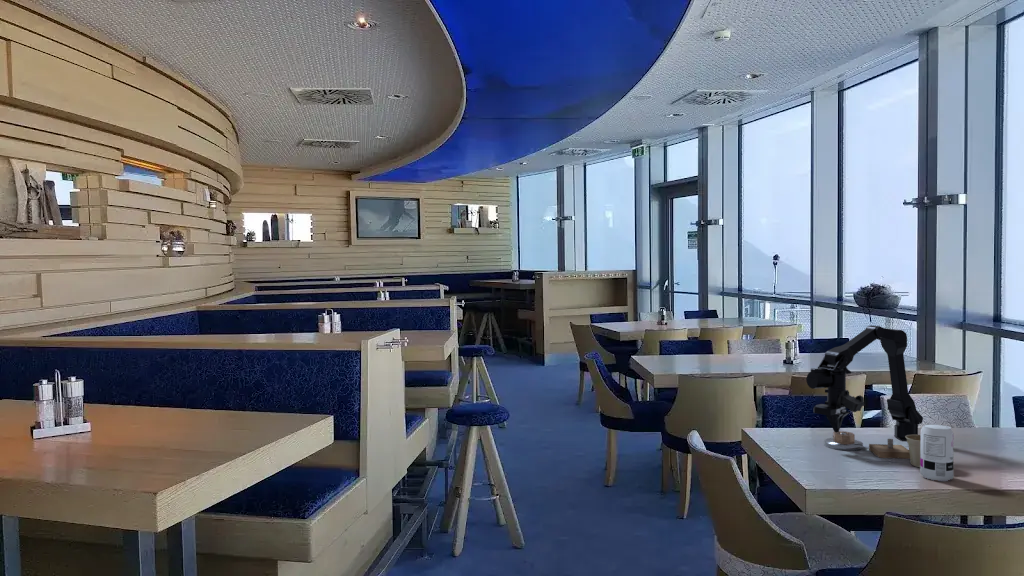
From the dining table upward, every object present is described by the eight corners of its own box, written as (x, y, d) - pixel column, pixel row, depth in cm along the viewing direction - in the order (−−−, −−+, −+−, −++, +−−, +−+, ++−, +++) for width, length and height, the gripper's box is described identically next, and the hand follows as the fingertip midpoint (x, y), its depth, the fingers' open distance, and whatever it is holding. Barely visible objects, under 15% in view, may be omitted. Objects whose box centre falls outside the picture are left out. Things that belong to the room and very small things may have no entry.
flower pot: (938, 463, 220) (938, 436, 220) (942, 471, 212) (942, 442, 212) (904, 460, 224) (904, 433, 224) (906, 468, 216) (906, 439, 215)
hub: (856, 442, 247) (856, 429, 247) (867, 451, 236) (867, 437, 236) (820, 441, 250) (820, 428, 249) (829, 450, 238) (829, 436, 238)
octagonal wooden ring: (840, 438, 247) (840, 430, 247) (857, 442, 242) (857, 433, 241) (830, 441, 243) (830, 432, 243) (847, 445, 238) (847, 436, 238)
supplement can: (914, 474, 209) (914, 423, 209) (940, 473, 210) (940, 423, 209) (932, 482, 201) (932, 430, 201) (960, 481, 202) (960, 429, 201)
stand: (901, 450, 236) (901, 436, 236) (912, 458, 226) (912, 443, 226) (869, 449, 237) (869, 435, 237) (879, 457, 228) (879, 442, 227)
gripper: (844, 393, 231) (844, 440, 231) (874, 387, 241) (874, 432, 242) (812, 388, 240) (812, 434, 240) (842, 383, 250) (842, 427, 251)
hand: (836, 432), depth 243 cm, fingers closed
